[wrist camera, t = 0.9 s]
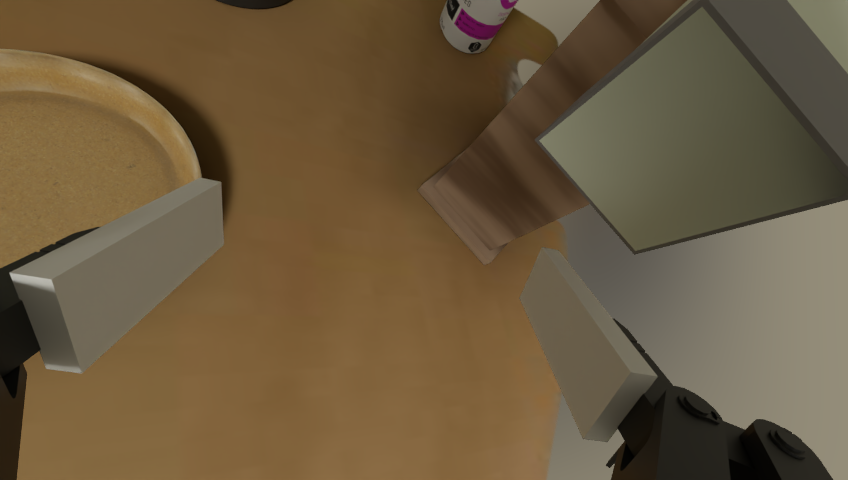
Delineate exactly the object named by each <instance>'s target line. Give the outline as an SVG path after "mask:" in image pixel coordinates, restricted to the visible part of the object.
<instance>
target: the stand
mask: <svg viewBox="0 0 848 480" xmlns="http://www.w3.org/2000/svg"><path fill="white" fill-rule="evenodd" d="M686 1H687V0H600V1H599V2H598V3H597V4H596V6H595V7H594V8H593V9H592V10H591V11H590V12H589V13H588V14H587V16H586V17H585V18H584V19H583V20H582V21H581V22H580V23H579V25H578V26H577V27H576V28H575V29H574V30H573V31H572V32H571V33H570V35H569V36H568V37H567V38H566V39H565V40H564V41H563V42H562V44H561V45H560V46H559V47H558V48H557V49H556V50H555V51H554V52H553V54H552V55H551V56H550V57H549V58H548V59H547V60H546V61H545V62H544V64H543V65H542V66H541V67H540V68H539V69H538V70H537V71H536V73H535V74H534V75H533V76H532V77H531V78H530V79H529V80H528V82H527V83H526V84H525V85H524V86H523V87H522V88H521V89H520V90H519V92H518V93H517V94H516V95H515V96H514V97H513V98H512V99H511V100H510V102H509V103H508V104H507V105H506V106H505V107H504V108H503V109H502V111H501V112H500V113H499V114H498V115H497V116H496V117H495V118H494V119H493V121H492V122H491V123H490V124H489V125H488V126H487V127H486V128H485V130H484V131H483V132H482V133H481V134H480V135H479V136H478V137H477V138H476V140H475V141H474V142H473V143H472V144H471V145H470V146H469V147H468V148H467V149H466V150H464V151H463V152H462V153H461V154H459V155H458V156H457V157H456V158H454V159H453V160H452V161H451V162H450V163H448V164H447V165H446V166H445V167H443V168H442V169H441V170H440V171H438V172H437V173H436V174H435V175H434V176H432V177H431V178H430V179H429V180H427V181H426V182H425V183H424V184H422V185H421V187H420V188H419V189H418V190H417V191H418V192H419V193H420V194H421V195H422V196H423V197H424V199H425V200H426V201H427V202H428V203H429V204H430V205H431V206H432V207H433V209H434V210H435V211H436V212H437V213H438V214H439V215H440V216H441V218H442V219H443V220H444V221H445V222H446V223H447V224H448V225H449V227H450V228H451V229H452V230H453V231H454V232H455V233H456V234H457V235H458V237H459V238H460V239H461V240H462V241H463V242H464V243H465V244H466V246H467V247H468V248H469V249H470V250H471V251H472V252H473V253H474V254H475V256H476V257H477V258H478V259H479V260H480V261H481V262H482V263H483V265H486V264H488V263H491V262H492V260H493V259H494V258H495V257H496V256H497V255H498V254H499V253H500V251H501V250H502V249H503V248H504V247H505V246H506V245H507V244H508V242H510V241H512V240H514V239H516V238H518V237H520V236H523V235H525V234H527V233H529V232H531V231H533V230H535V229H538V228H540V227H542V226H544V225H546V224H548V223H550V222H553V221H555V220H557V219H559V218H561V217H563V216H565V215H567V214H570V213H572V212H574V211H576V210H578V209H580V208H583V207H585V206H587V205H589V204H590V203H589V202H588V201H587V200H586V199H585V197H584V196H583V195H582V194H581V193H580V192H579V190H578V189H577V188H576V187H575V186H574V185H573V184H572V182H571V181H570V180H569V179H568V178H567V177H566V176H565V174H564V173H563V172H562V171H561V170H560V169H559V168H558V166H557V165H556V164H555V163H554V162H553V161H552V160H551V158H550V157H549V156H548V155H547V154H546V153H545V152H544V150H543V149H542V148H541V147H540V146H539V145H538V144H537V142H536V141H535V139H536V138H537V137H538V136H539V135H540V134H541V133H542V132H543V131H544V130H545V129H546V128H548V127H549V126H550V125H551V124H552V123H553V122H554V121H555V120H556V119H557V118H558V117H559V116H560V115H561V114H563V113H564V112H565V111H566V110H567V109H568V108H569V107H570V106H571V105H572V104H573V103H574V102H575V101H576V100H578V99H579V98H580V97H581V96H582V95H583V94H584V93H585V92H586V91H587V90H589V89H590V88H591V87H592V86H593V85H594V84H596V83H597V82H598V81H599V80H600V79H601V78H603V77H604V76H605V75H606V74H607V73H608V72H610V71H611V70H612V69H613V68H614V67H615V66H617V65H618V64H619V63H620V62H621V61H622V60H624V59H625V58H626V57H627V56H628V55H629V54H631V53H632V52H633V51H634V50H635V49H636V48H637V47H638V46H640V45H641V44H642V43H643V42H644V41H645V40H646V39H647V38H648V37H649V36H650V35H651V34H652V33H653V32H654V31H655V30H656V29H657V28H659V27H660V26H661V25H662V24H663V23H664V22H665V21H666V20H667V19H668V18H669V17H670V16H671V15H672V14H673V13H674V12H675V11H676V10H678V9H679V8H680V7H681V6H682V5H683V4H684V3H685V2H686Z"/></svg>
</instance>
